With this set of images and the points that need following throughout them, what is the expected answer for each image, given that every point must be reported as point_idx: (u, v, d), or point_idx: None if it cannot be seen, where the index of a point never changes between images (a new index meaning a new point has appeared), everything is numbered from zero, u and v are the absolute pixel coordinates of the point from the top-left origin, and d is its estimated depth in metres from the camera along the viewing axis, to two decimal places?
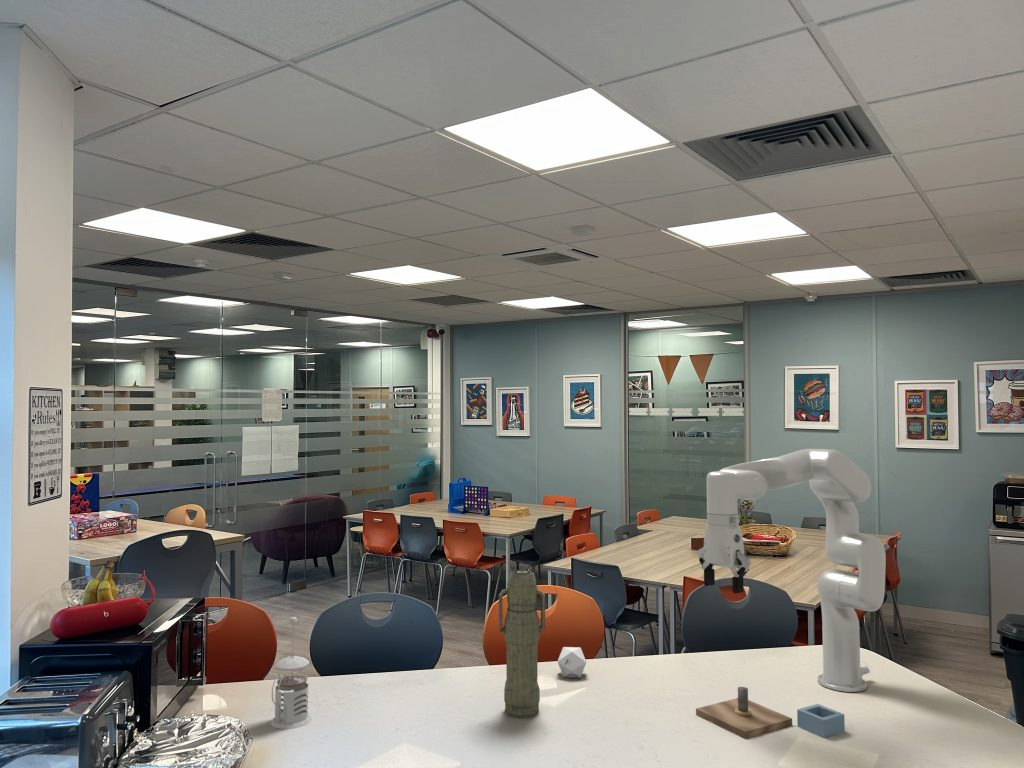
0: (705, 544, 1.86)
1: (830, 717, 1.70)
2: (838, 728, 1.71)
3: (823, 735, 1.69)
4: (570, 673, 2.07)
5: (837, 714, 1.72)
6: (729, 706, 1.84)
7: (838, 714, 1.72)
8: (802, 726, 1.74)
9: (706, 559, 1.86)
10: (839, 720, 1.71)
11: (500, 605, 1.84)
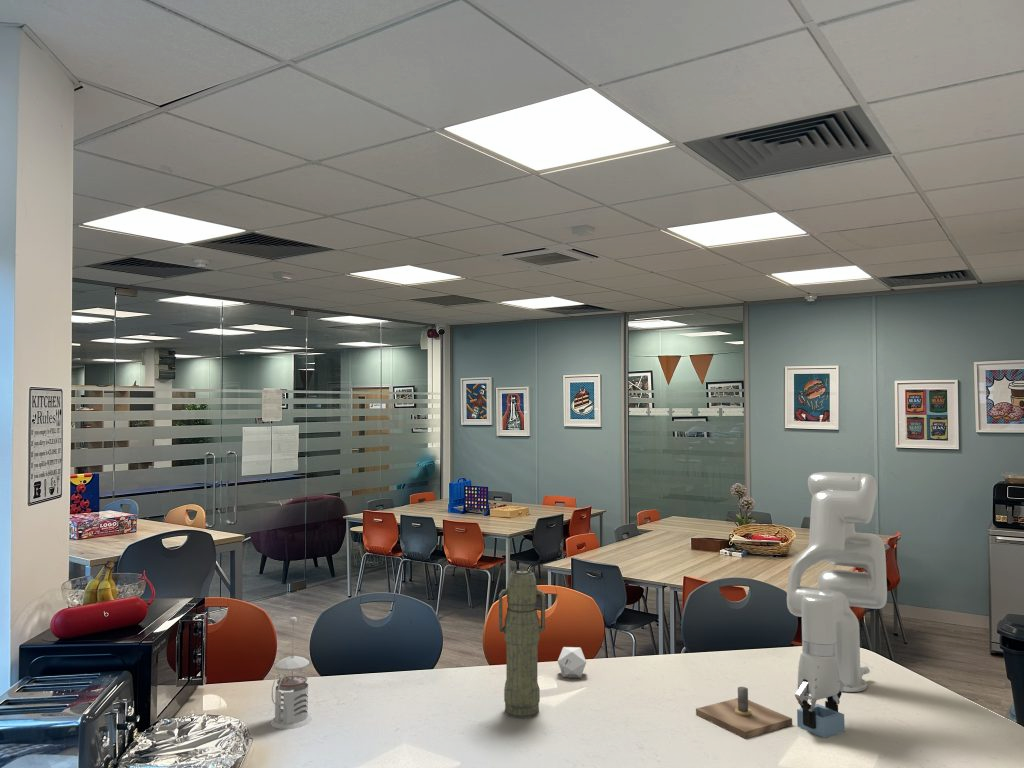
0: (816, 680, 1.70)
1: (830, 717, 1.70)
2: (838, 728, 1.71)
3: (823, 735, 1.69)
4: (570, 673, 2.07)
5: (836, 714, 1.72)
6: (729, 706, 1.84)
7: (838, 714, 1.72)
8: (802, 726, 1.74)
9: (817, 696, 1.70)
10: (839, 720, 1.71)
11: (500, 605, 1.84)
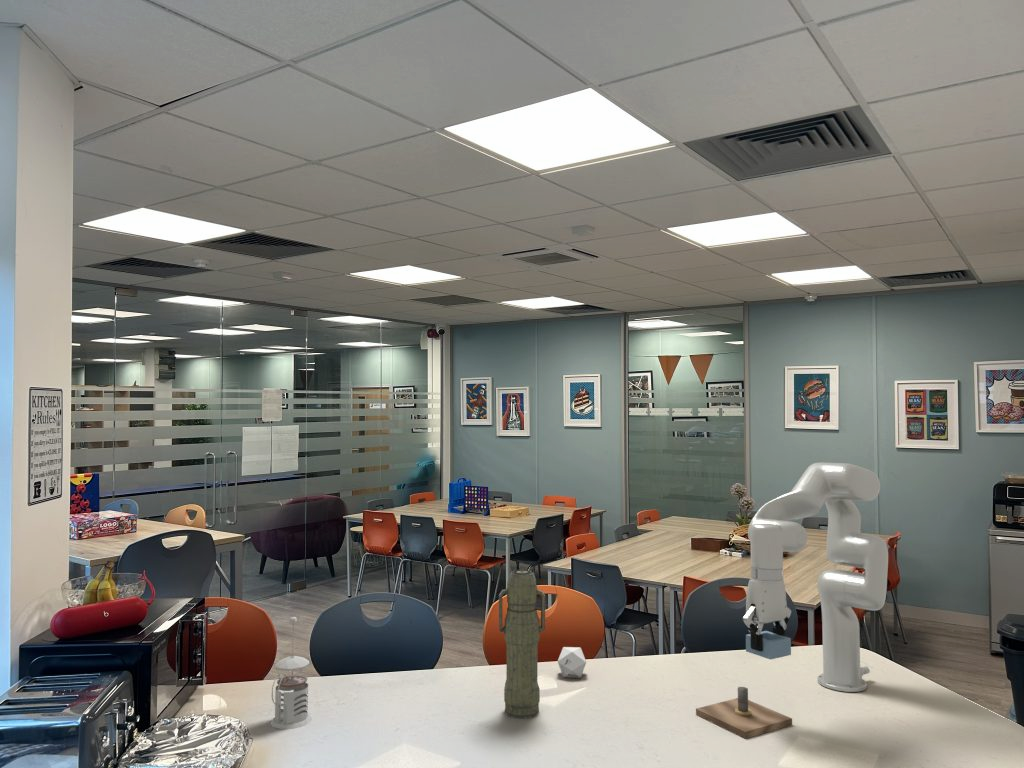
0: (764, 604, 1.75)
1: (777, 640, 1.75)
2: (784, 651, 1.75)
3: (769, 657, 1.73)
4: (570, 673, 2.07)
5: (783, 638, 1.76)
6: (729, 706, 1.84)
7: (785, 638, 1.77)
8: (750, 650, 1.78)
9: (764, 620, 1.75)
10: (785, 643, 1.76)
11: (500, 605, 1.84)
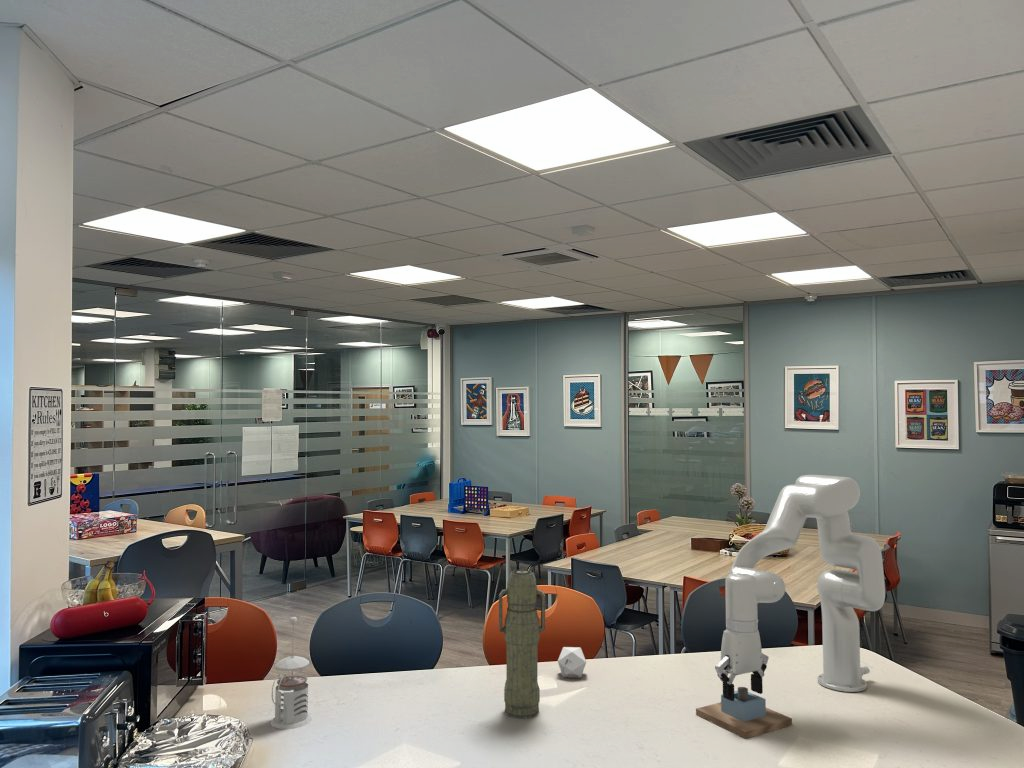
0: (737, 656, 1.76)
1: (751, 702, 1.76)
2: (759, 712, 1.77)
3: (743, 719, 1.74)
4: (570, 673, 2.07)
5: (758, 699, 1.77)
6: None
7: (759, 699, 1.78)
8: (725, 711, 1.79)
9: (738, 671, 1.76)
10: (760, 705, 1.77)
11: (500, 605, 1.84)
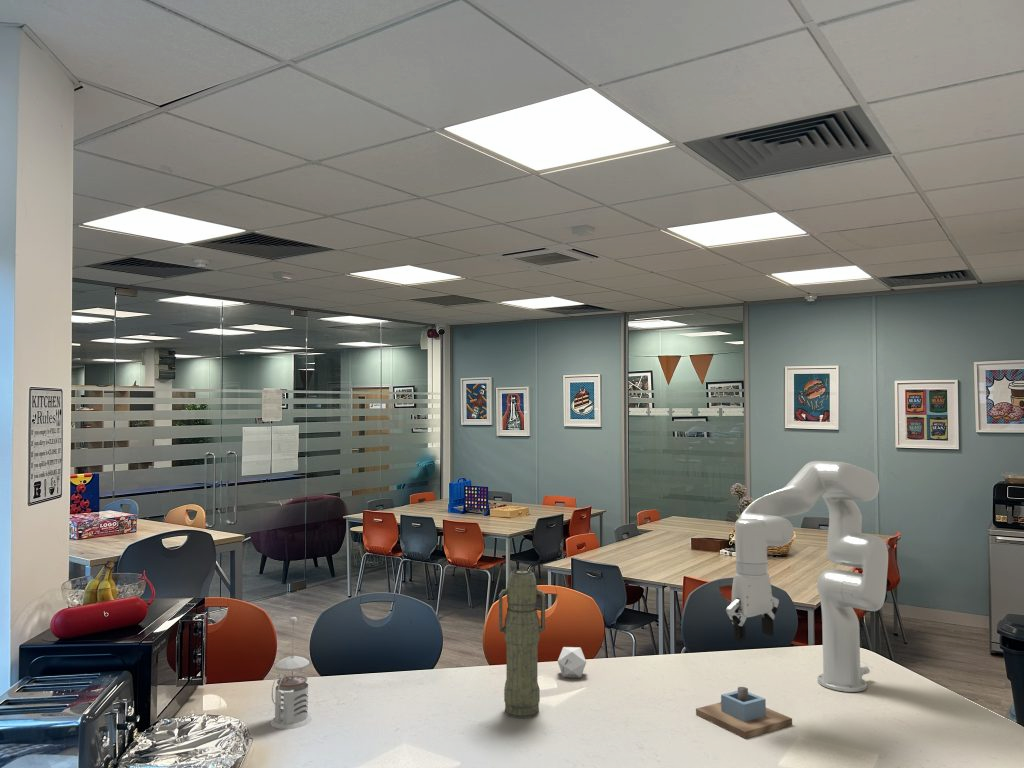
0: (748, 598, 1.78)
1: (751, 702, 1.76)
2: (759, 712, 1.77)
3: (743, 719, 1.74)
4: (570, 673, 2.07)
5: (758, 699, 1.77)
6: None
7: (759, 699, 1.78)
8: (725, 711, 1.79)
9: (749, 613, 1.78)
10: (760, 705, 1.77)
11: (500, 605, 1.84)
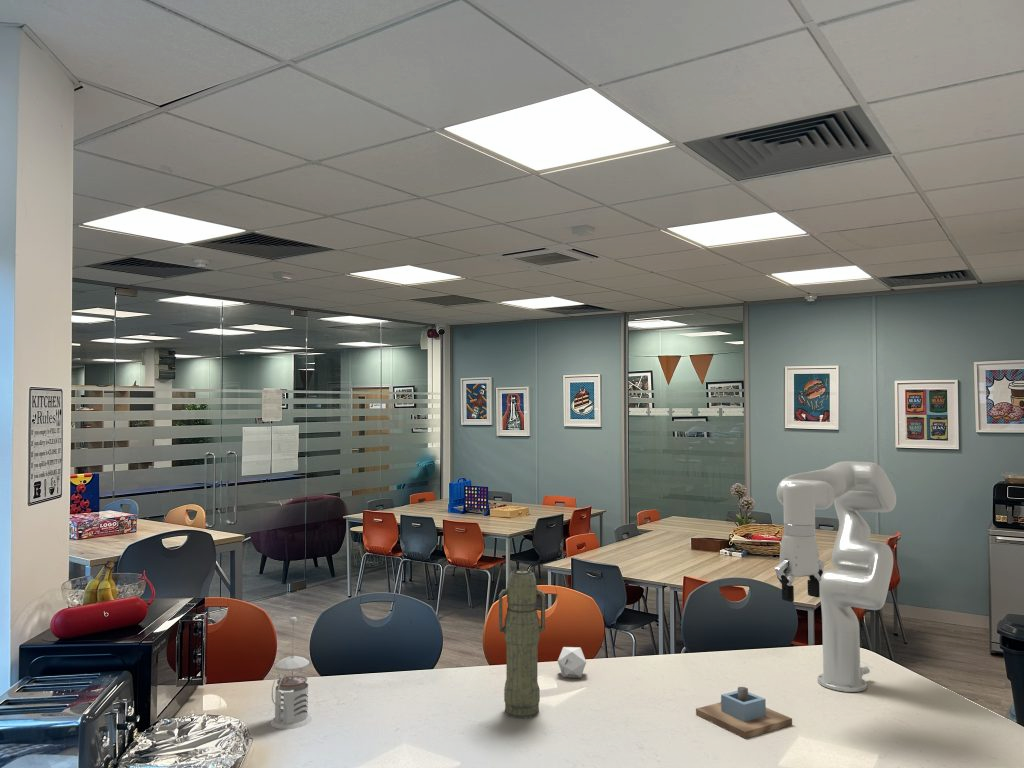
0: (797, 558, 1.82)
1: (751, 702, 1.76)
2: (759, 712, 1.77)
3: (743, 719, 1.74)
4: (570, 673, 2.07)
5: (758, 699, 1.77)
6: None
7: (759, 699, 1.78)
8: (725, 711, 1.79)
9: (797, 573, 1.82)
10: (760, 705, 1.77)
11: (500, 605, 1.84)
